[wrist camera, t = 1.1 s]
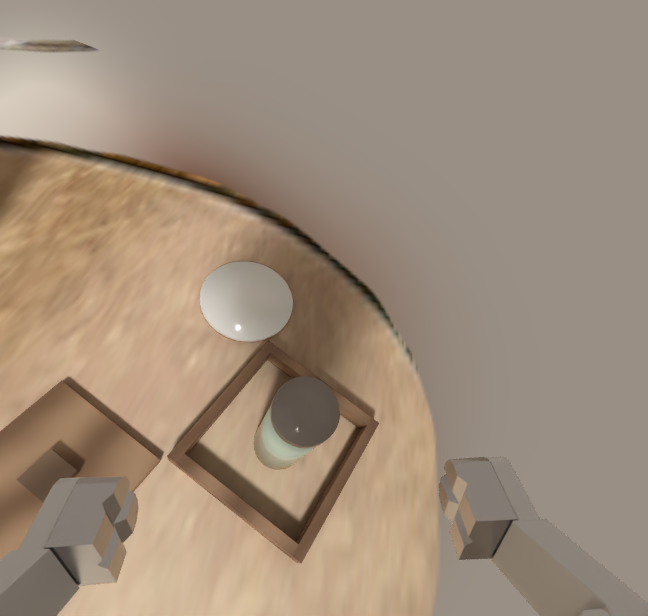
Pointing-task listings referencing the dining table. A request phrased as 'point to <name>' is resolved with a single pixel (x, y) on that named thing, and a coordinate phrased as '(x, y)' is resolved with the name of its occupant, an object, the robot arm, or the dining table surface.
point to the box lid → (59, 457)
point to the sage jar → (296, 422)
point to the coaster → (246, 301)
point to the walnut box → (236, 503)
